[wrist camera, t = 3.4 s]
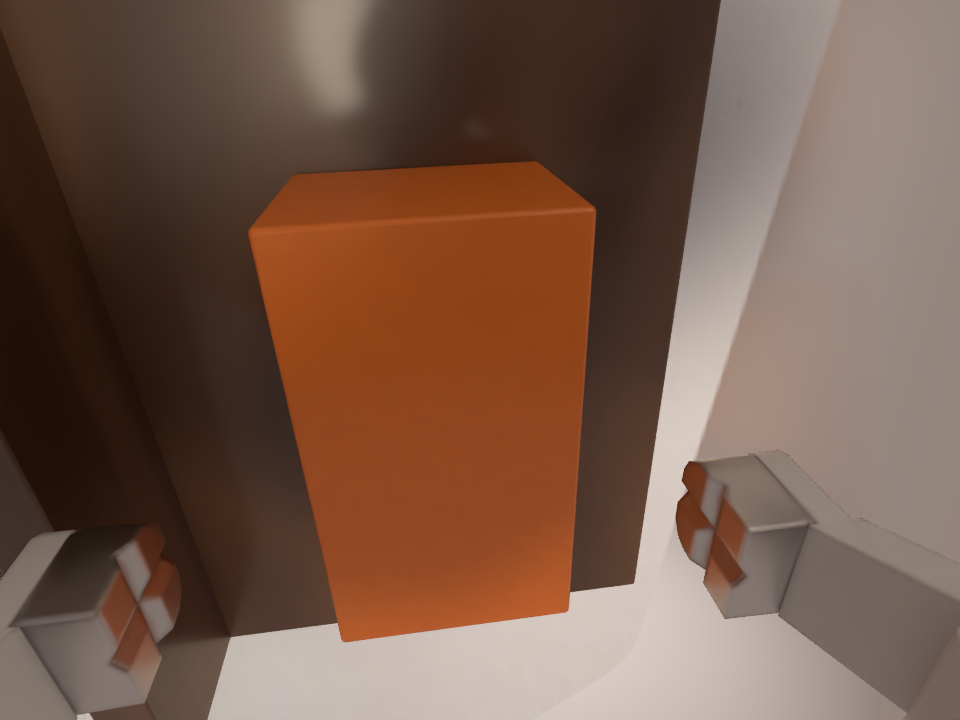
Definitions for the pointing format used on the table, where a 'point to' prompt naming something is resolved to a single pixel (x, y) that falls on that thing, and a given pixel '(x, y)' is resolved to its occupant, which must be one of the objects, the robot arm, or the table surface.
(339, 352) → the block
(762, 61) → the table surface
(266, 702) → the table surface
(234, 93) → the shelf
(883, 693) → the robot arm
